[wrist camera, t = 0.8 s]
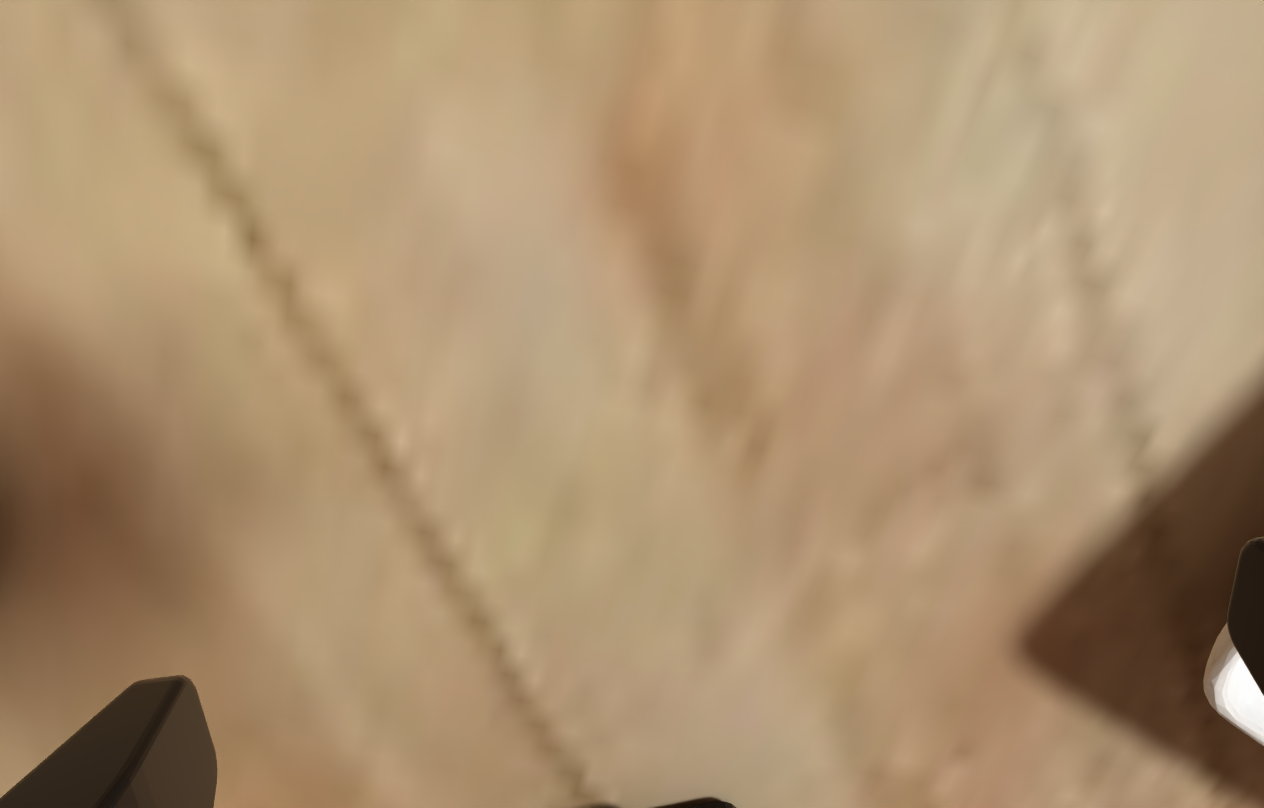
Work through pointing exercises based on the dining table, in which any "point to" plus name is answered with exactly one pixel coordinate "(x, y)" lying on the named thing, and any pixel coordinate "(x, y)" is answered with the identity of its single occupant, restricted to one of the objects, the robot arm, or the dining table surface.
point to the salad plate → (1234, 688)
